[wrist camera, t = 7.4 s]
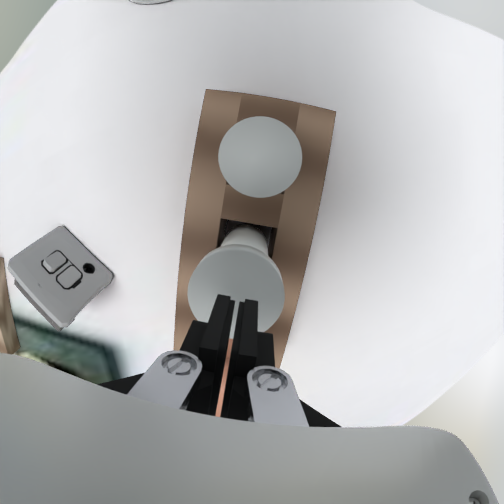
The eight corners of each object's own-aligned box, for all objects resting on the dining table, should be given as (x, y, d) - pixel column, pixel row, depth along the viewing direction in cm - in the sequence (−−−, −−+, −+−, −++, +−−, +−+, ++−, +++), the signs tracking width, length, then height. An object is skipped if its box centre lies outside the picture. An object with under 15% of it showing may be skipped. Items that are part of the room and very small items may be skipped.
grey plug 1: (238, 133, 25) (226, 110, 15) (290, 142, 25) (308, 125, 15) (230, 184, 26) (212, 190, 16) (281, 192, 26) (294, 204, 16)
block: (216, 106, 25) (206, 89, 19) (320, 123, 25) (336, 111, 19) (186, 330, 31) (173, 361, 25) (273, 345, 31) (276, 378, 26)
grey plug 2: (220, 212, 23) (192, 242, 13) (279, 222, 23) (294, 259, 13) (212, 268, 24) (184, 329, 15) (268, 277, 25) (273, 345, 15)
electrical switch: (116, 274, 30) (69, 316, 21) (100, 302, 31) (58, 344, 23) (63, 223, 28) (8, 248, 20) (51, 253, 30) (2, 282, 21)
